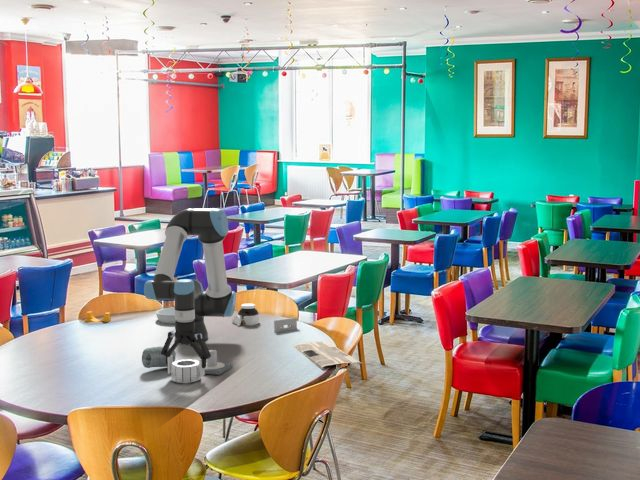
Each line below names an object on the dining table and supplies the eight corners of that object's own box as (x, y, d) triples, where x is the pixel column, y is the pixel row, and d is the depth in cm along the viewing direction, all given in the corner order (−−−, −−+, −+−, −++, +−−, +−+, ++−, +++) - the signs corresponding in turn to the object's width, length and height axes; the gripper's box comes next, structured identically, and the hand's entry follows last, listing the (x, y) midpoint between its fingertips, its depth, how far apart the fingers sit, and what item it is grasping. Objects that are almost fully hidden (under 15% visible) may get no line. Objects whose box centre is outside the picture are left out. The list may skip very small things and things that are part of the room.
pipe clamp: (85, 325, 385) (84, 313, 384) (89, 323, 389) (89, 311, 388) (106, 326, 382) (106, 314, 381) (110, 325, 386) (110, 312, 385)
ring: (166, 381, 290) (166, 365, 289) (180, 373, 300) (180, 358, 300) (192, 383, 287) (191, 368, 286) (205, 375, 297) (205, 360, 296)
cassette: (295, 332, 368) (295, 317, 367) (297, 333, 366) (297, 317, 365) (273, 335, 361) (273, 320, 361) (275, 336, 360) (275, 320, 359)
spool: (142, 368, 298) (151, 344, 299) (135, 362, 306) (143, 339, 307) (174, 376, 305) (182, 352, 306) (165, 370, 313) (173, 347, 314)
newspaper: (292, 349, 338) (292, 343, 337) (333, 345, 344) (333, 339, 344) (322, 372, 304) (322, 365, 303) (366, 367, 310) (366, 360, 310)
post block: (191, 372, 302) (191, 353, 301) (205, 364, 313) (205, 346, 312) (219, 375, 298) (218, 356, 297) (232, 366, 309) (231, 348, 308)
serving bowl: (178, 317, 402) (177, 305, 401) (206, 322, 390) (206, 309, 389) (147, 325, 385) (147, 311, 384) (176, 330, 373) (176, 316, 372)
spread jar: (261, 327, 379) (261, 304, 378) (247, 332, 369) (246, 308, 368) (242, 324, 385) (241, 302, 384) (227, 329, 376) (227, 305, 375)
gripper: (151, 320, 291) (152, 374, 294) (210, 324, 283) (211, 380, 286) (161, 316, 298) (162, 368, 301) (218, 320, 291) (219, 374, 293)
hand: (186, 374), depth 293 cm, fingers open, 13 cm apart
